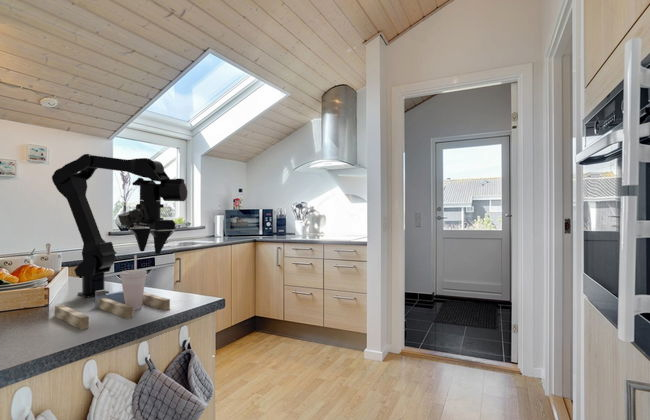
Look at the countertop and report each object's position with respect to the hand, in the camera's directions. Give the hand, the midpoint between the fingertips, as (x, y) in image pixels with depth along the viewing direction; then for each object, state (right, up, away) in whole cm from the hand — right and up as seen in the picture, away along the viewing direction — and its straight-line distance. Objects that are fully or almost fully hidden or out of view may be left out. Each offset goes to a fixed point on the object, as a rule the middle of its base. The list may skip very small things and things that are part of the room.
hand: (149, 252), depth 110 cm
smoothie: (+3, -13, -14) cm, 20 cm away
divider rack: (0, -13, -18) cm, 22 cm away
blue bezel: (-4, -13, -9) cm, 16 cm away
